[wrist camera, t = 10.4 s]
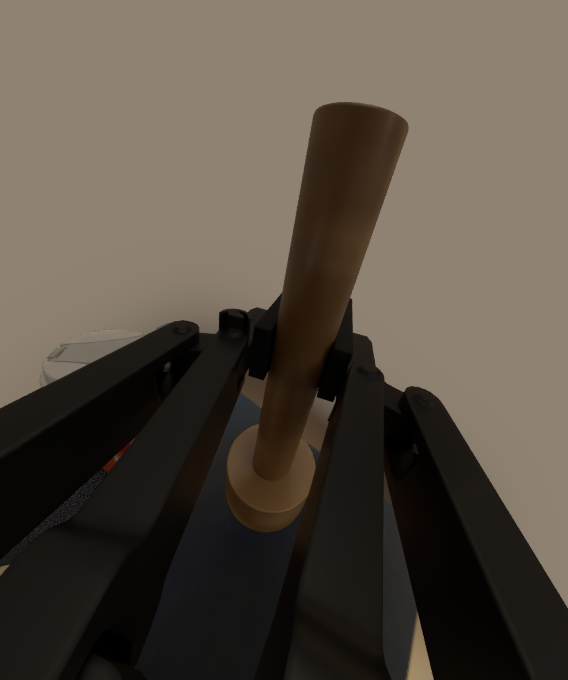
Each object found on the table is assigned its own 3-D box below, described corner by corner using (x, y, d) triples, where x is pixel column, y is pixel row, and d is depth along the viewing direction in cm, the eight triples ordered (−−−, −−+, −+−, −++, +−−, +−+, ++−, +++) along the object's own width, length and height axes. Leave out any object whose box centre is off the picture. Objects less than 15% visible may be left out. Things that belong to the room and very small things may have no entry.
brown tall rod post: (313, 462, 19) (447, 161, 8) (292, 552, 14) (567, 71, 3) (249, 433, 20) (291, 138, 9) (207, 506, 15) (195, 46, 4)
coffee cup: (76, 500, 22) (-1, 391, 14) (108, 427, 28) (67, 325, 20) (171, 483, 24) (151, 383, 16) (180, 420, 31) (169, 327, 23)
